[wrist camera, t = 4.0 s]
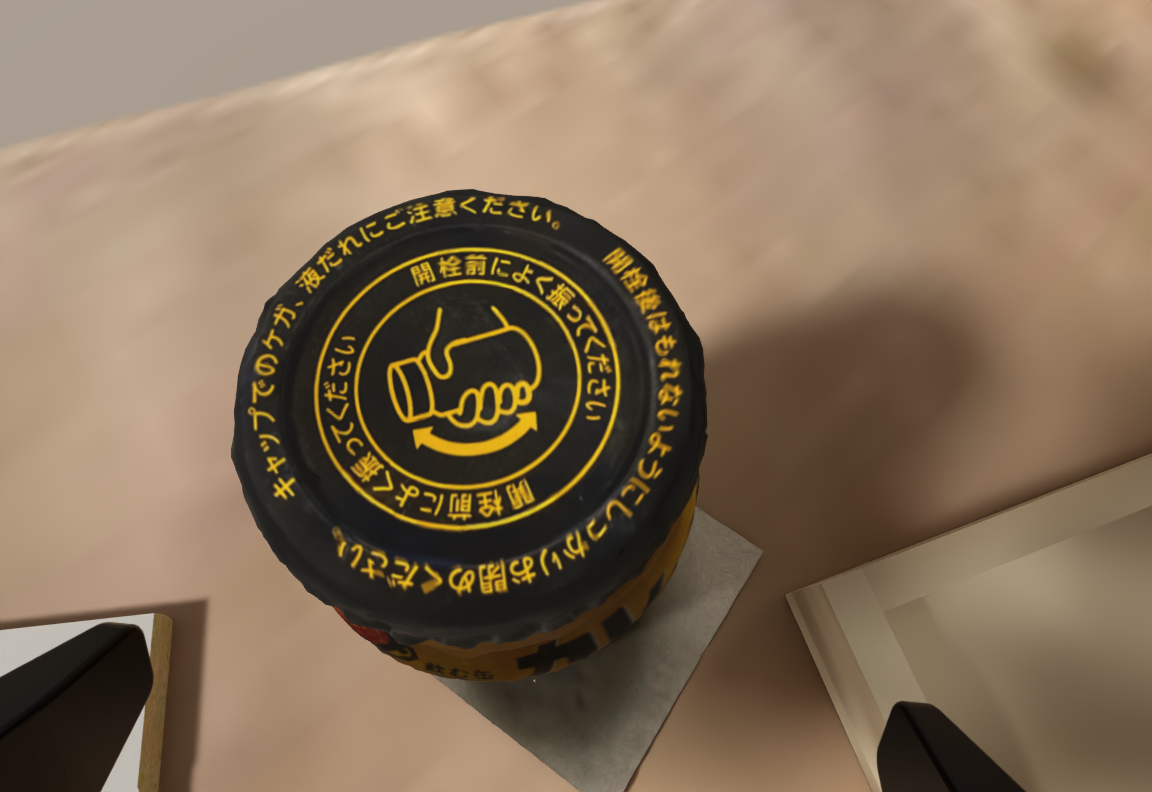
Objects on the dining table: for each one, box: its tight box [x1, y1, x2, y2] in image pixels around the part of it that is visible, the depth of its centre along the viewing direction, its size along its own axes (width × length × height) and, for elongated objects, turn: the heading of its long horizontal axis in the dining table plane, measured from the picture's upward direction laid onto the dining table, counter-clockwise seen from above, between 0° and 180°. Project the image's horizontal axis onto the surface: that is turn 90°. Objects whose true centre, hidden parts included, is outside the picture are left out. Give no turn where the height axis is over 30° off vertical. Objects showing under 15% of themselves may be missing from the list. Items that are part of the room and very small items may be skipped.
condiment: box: [231, 189, 763, 792], centre depth 13 cm, size 7×8×12 cm
